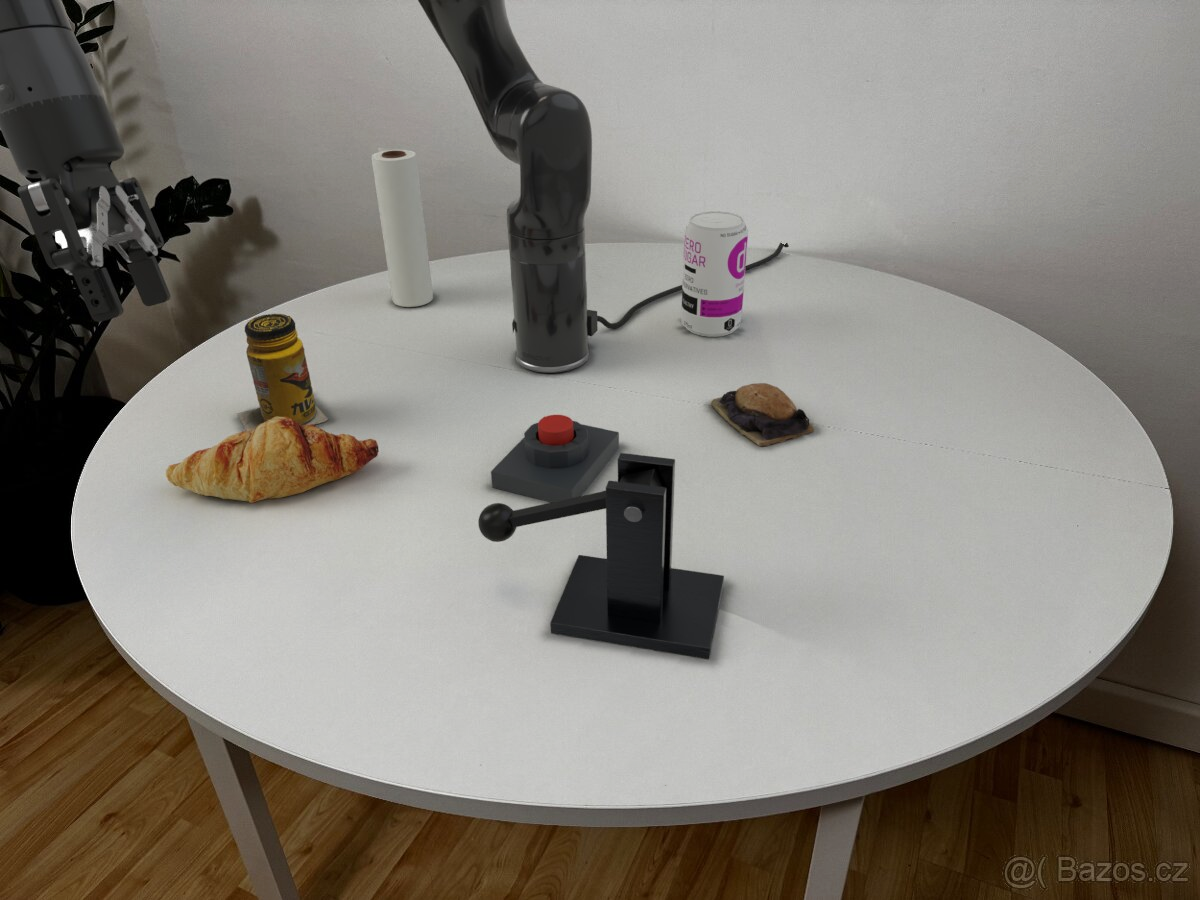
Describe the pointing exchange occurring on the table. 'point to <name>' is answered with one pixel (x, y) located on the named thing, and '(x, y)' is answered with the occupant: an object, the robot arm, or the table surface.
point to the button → (555, 430)
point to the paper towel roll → (403, 226)
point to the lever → (549, 509)
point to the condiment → (279, 373)
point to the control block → (555, 464)
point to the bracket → (640, 575)
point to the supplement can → (713, 273)
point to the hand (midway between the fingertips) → (135, 310)
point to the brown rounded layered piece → (762, 414)
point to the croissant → (272, 462)
